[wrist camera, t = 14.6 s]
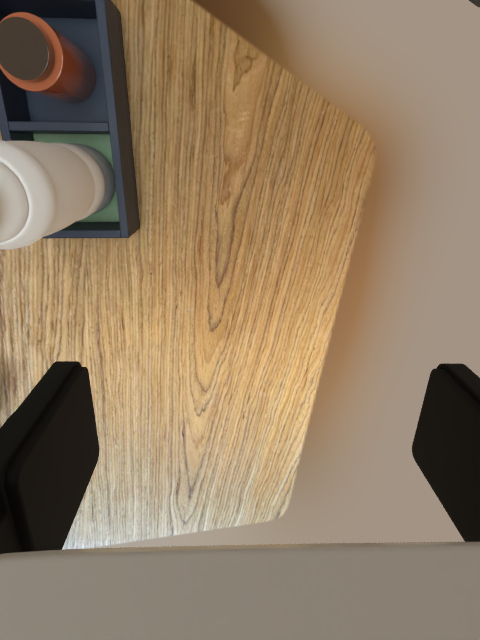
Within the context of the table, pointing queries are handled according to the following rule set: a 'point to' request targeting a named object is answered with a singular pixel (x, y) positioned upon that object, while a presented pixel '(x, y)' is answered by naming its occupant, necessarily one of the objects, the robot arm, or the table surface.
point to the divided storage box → (81, 108)
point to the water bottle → (49, 188)
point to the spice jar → (44, 59)
